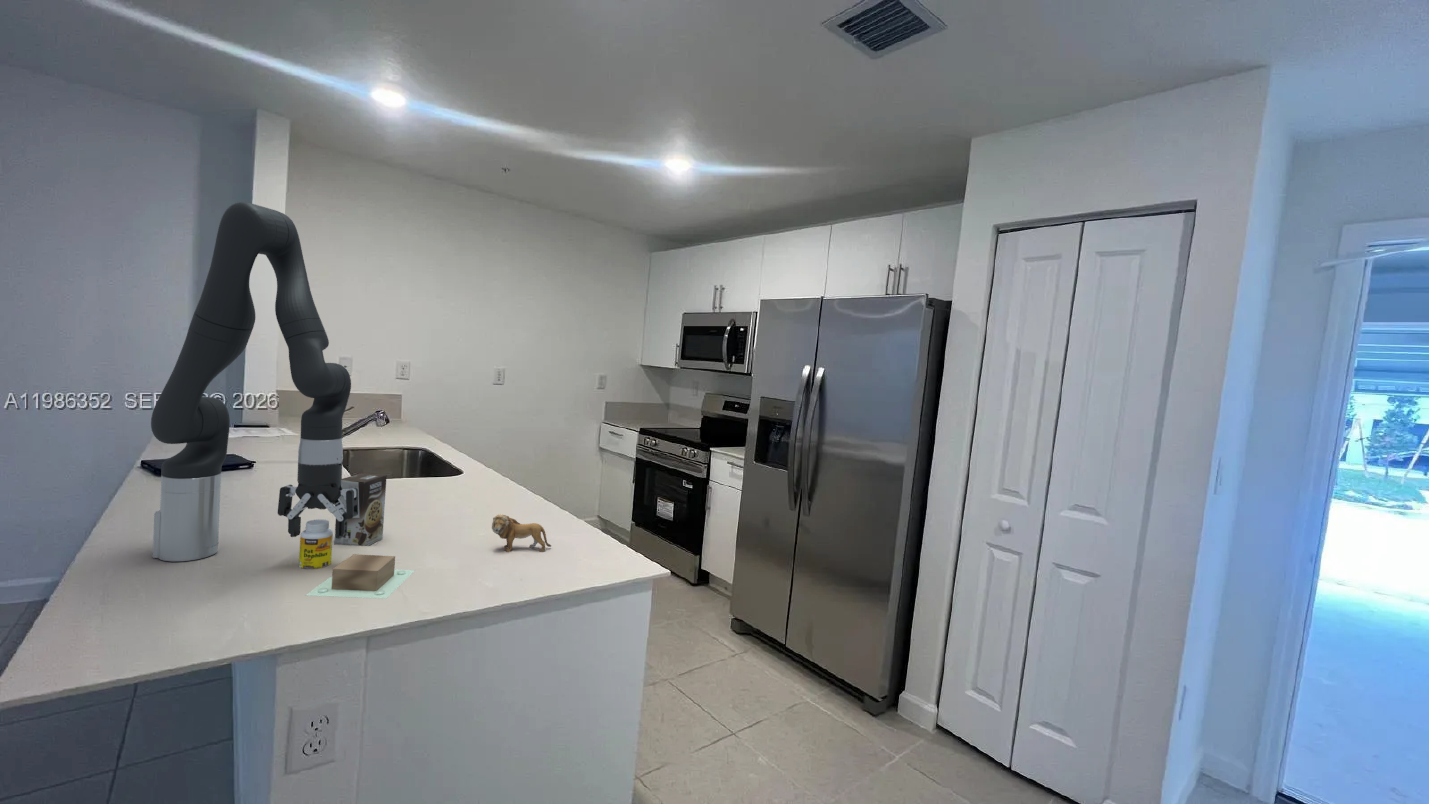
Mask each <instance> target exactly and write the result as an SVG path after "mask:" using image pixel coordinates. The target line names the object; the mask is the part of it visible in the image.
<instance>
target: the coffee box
mask: <svg viewBox="0 0 1429 804" xmlns="http://www.w3.org/2000/svg"><path fill="white" fill-rule="evenodd" d="M387 475H388V474H378V473H365V472H361V473H357V474H353V475H351V476H346V477H344V478H342V480H341V487H342V489H352V488H357V489H358V512H359V513H358V515H357V516H354V517H353V518H351V519H348V524H347V533H346V534H345V535H344V536H343V537H342V538H340V539H336V538H335V535H336V521H338V520H337V519H336V518H335V525H334V526H335V527H334V536H333V538H334V539H333V545H339V546H355V547H357V546H358V547H368V546H370V545H373V544H374V543H377V542H379V541H380V540H383V536H384V523H385V522H384V519H385V507H386V506H385V504H386V491H387V477H388V476H387ZM339 499H340V501H341V502H342V503H343V505H344V508H345V510H346V500H345V499H344V496H343V495H341V496H340V498H339Z"/></svg>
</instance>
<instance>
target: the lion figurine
mask: <svg viewBox="0 0 1429 804" xmlns="http://www.w3.org/2000/svg"><path fill="white" fill-rule="evenodd" d="M491 531H492V532H493V533H494V534H496V535H497V536H499V538H500V539H504V540H505V539H506V544H505V545H504V546H503V547H504V549H505V552H509V553H510V552H511V551H512V550H513V544H514V540H515V539H527V538H529V537H530V536H531V537H532V539H533V543H531V544H529V548H535V547H536V545H538V544H539V545H540V546H541V547H540V548H539V550H538V551H540V552H544V551H546V546H547V547H549V548H551V547H552V545H551V544H550V543H548V539H547V534H546V531H545V529H544V527H543V526H542V525H541V524H539V523H537V522H532V523H520V522H518V521H517V519H514V518H512V517H509V515H506V514H501V513H500V514H496V516H494V517H492V522H491ZM542 536H543V538H542Z"/></svg>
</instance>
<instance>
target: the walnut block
mask: <svg viewBox="0 0 1429 804" xmlns="http://www.w3.org/2000/svg"><path fill="white" fill-rule="evenodd" d="M395 565H396V556H395V555H381V554H380V555H377V554H375V555H374V554H359V553H357V554H356V553H354V554H352V555H350V556H348V557H347V558H346V559H344V560H343V561H342V562H340V563H339V564H337V565H336V566H335V567H334V568H332V572H331V573H332V575H331V576H332V589H335V590H360V591H377V590H378V589H379V588H381V587H382V586H383V585H384V584H385V583H386V582H387V581H388V580H389V579H390V578H391V577H393V576H394V569H395V567H396V566H395Z"/></svg>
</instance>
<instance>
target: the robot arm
mask: <svg viewBox="0 0 1429 804" xmlns="http://www.w3.org/2000/svg"><path fill="white" fill-rule="evenodd" d="M220 219H221V220H220V222H219V226H218V229H217V233H216V238H215V244H214V248H213V254H212V258H211V262H210V265H209V266H210V267H209V270H208V273H207V275H206V280H205V282H204V285H203V289H202V292H201V295H200V298H199V300H198V303H197V305H196V307H195V309H194V313H193V314H192V317H191V320H190V324H189V327H188V330H187V334H186V336H185V340H184V341H183V344H182V348H181V350H180V353H179V355H178V358H177V359H176V363H175V365H174V367H173V370H172V372H171V373H170V376H169V377H168V380H167V381H166V383H165V386H164V387H163V389H162V392H161V393H160V395H159V396H158V399H157V401H156V403H155V405H154V408H153V410H152V414H151V419H150V428H151V431H152V434H153V436H154V437H155V439H157V441H159V442H161V443H164V444H168V445H179V444H181V445H182V444H186V445H185V446H184V448H183V449H181V451H179V452H178V453H176V454H174V455H173V456H171V457H169V458H167V459H165V460H164V461H163V462H162V464H161V467H160V468H161V469H160V471H161V473H160V474H161V475H160V476H161V477H160V479H161V480H160V501H159V502H160V505H159V510H156V511H154V513H153V514H154V515H153V535H152V539H153V540H152V558H154V559H155V558H156V559H160V560H161V561H165V562H188V561H194V560H196V561H197V560H200V559H205V558H209V557H211V556H213V555H215V554H217V552H218V551H219V534H220V514H221V513H220V512H221V510H220V509H221V488H222V486H221V484H222V469H223V468H222V466H223V464H224V463H225V460H226V458H227V455H228V444H229V435H230V427H231V426H230V425H231V424H230V423H231V422H230V412H229V410H228V408H227V405H226V404H225V403H224V402H223V401H222V400H220V399H219V398H216V397H212V396H211V397H210V396H203V395H204V393H205V391H206V389H207V387H208V386H209V385H210V383H211V382H212V381H213V380H214V379H215V378H216V377H217V376H218V375H219V374H221V373H222V372H223V371H224V370H225V369H226V368H227V367H229V366H230V365H231V364H233V362H235V360H237V358H239V356H240V355H242V353H243V352H244V351H245V349H246V347H247V345H248V342H249V340H250V337H251V335H252V332H253V329H254V327H255V323H256V309H255V304H254V301H253V300H254V299H253V298H252V293H251V289H250V277H251V272H252V270H253V266H254V264H255V261H256V259H257V257H258V255H264V256H266V258H267V259H268V261H269V263H270V265H271V267H272V268H273V269H272V270H273V272H274V274H275V275H274V276H275V277H276V278H275V279H276V296H275V303H274V312H275V317H276V321H277V323H278V324H277V325H278V327H279V328H280V331H281V334H282V336H283V338H284V341H285V343H286V346H287V348H288V360H289V361H288V362H289V369H290V374H291V375H290V376H291V380H292V383H293V384H294V386H295V388H296V389H297V391H299V392H300V393H301V394H302V395H303V396H305V397H307V398H311V399H313V401H312V402H313V403H312V405H311V407H309V408H308V409H306V410H305V411H303V412H302V415H301V418H300V437H299V438H300V439H299V445H298V451H297V452H298V455H297V457H298V458H297V478H296V479H297V486H294V485H292V484H288V485H287V484H286V485H285V486H281V487H280V488H279V495H278V503H277V505H278V506H277V515H278V516H280V517H282V516H283V517H286V518H287V519H288V520H287V521H288V522H287V532H288V534H290V535H289V536H290V537H291V538H296V537H299V536H300V535H301V527H302V525H301V523H302V519H301V514H302V513H303V512H304V511H305V510H306V509H309V510H312V509H318V510H326V509H327V511H328V512H329V513H330V514H332V515H333V516H334V517H335V523H336V535H335V534H334V537H335V538H336V539H340V538H342V537H343V536H344V535H345V534H346V533H347V524H348V519H351V518H353V517H354V516H357V515H358V513H359V512H358V489H357V488H352V489H342V487H341V480H342V479H343V478H342V477H343V459H344V454H343V453H344V446H343V438H342V437H343V417H344V414H345V412H346V408H347V405H348V401H349V399H350V395H351V390H352V379H351V375H350V373H349V370H348V369H347V368H346V367H344V366H343V365H342V364H340V363H336V362H326V361H325V357H324V351H325V350H326V349H327V348H328V347H329V343H330V340H329V337H328V334H327V332H326V330H325V327H324V324H323V322H322V320H321V317H320V314H319V312H318V310H317V306H316V304H315V301H314V298H313V295H312V291H311V287H310V283H309V278H308V274H307V268H306V263H305V260H304V255H303V248H302V245H301V241H300V237H299V233H298V230H297V227H296V225H295V223H294V221H293V220H292V219H291V218H290V217H289V216H288V215H287V214H285V213H283V212H280V211H279V210H275V209H273V208H268V207H265V206H262V205H259V204H255V203H252V202H246V201H245V202H244V201H240V202H238V201H237V202H235V203H233V204H231V205H230V206H228V207H227V209H225V211H224V213H223V215H222V216H221V218H220ZM295 494H296V496H297V497H298V498H299V501H298V502H296V504H295V505H294V506H293V508H292V505H293V497H294V496H295ZM341 495H343V496H344V499H345V500H346V510H345V508H344V505H343V503H342V502H341V501H340V499H339V498H340V496H341ZM336 519H337V520H338V521H336Z"/></svg>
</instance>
